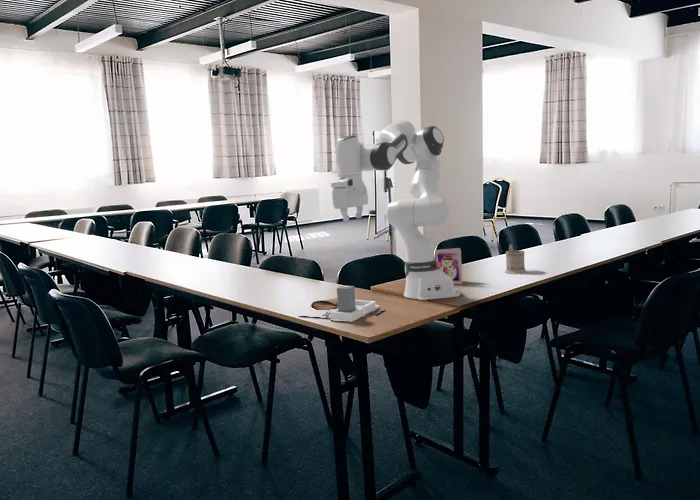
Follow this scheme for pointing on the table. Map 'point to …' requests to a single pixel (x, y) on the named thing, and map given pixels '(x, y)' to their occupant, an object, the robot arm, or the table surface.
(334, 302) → the sunglasses case
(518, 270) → the stone pedestal
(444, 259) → the greeting card
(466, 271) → the table surface
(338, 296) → the block
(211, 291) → the table surface
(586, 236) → the table surface
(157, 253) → the table surface
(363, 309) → the white compartment tray
